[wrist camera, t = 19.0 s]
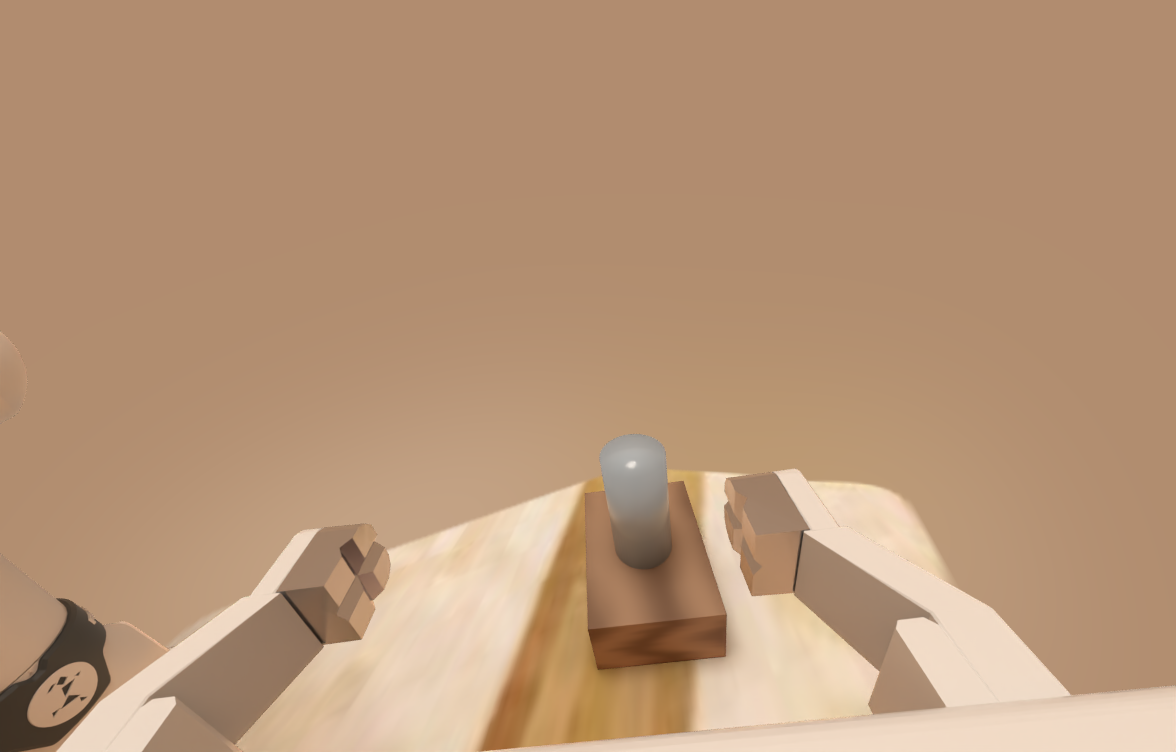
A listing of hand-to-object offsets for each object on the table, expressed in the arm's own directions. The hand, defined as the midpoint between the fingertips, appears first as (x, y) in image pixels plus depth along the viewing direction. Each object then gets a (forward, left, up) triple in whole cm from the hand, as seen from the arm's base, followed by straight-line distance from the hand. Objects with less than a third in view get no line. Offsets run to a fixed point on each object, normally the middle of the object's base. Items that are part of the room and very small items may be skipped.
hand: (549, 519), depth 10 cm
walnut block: (+3, +20, -32) cm, 38 cm away
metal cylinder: (+3, +20, -26) cm, 33 cm away
